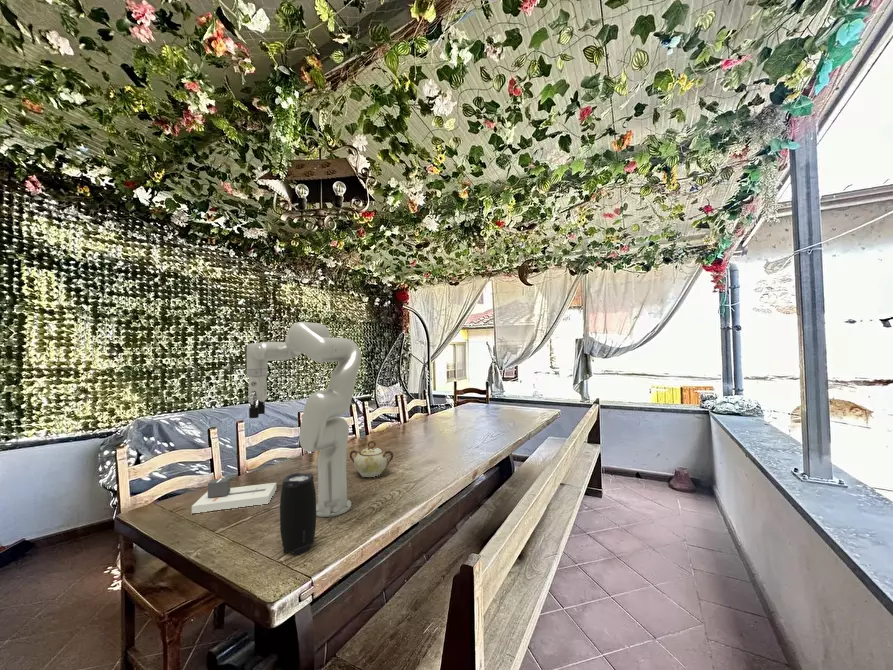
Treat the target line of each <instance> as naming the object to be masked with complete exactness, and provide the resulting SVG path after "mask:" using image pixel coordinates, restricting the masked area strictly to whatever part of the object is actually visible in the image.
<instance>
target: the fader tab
mask: <svg viewBox="0 0 893 670" xmlns="http://www.w3.org/2000/svg"><path fill="white" fill-rule="evenodd" d="M230 488H231V477H225V478H224V477H223V478H215V479H211V480H210V481H209V482H208V483H207V491H208V498H209V497H217V496H225V495H227V494H228V493H229V492H230Z"/></svg>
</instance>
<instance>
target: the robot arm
mask: <svg viewBox="0 0 893 670" xmlns="http://www.w3.org/2000/svg"><path fill="white" fill-rule="evenodd" d="M330 336H331V333H330V330H329V328H328V327H327V326H326V325H324V324H322V323H318V322H310V321H308V322H307V321H298V322H295V323H293V324H291V326H290V328H289V329H288V333H287V334H286V336H285V339H284V341H261V342H257V343H256V342H253V343H248V344H247V346H246V378H248V393H247V394H248V402H249V403H248V404H249V406H248V415H249V416H248V418H249V419H258V418H260V417H259V415H264V414H265V412H266V411H265V409H266V408H265V407H266V405H265V403H266V402H265V401H266V400H267V399H268V385H267V377H268V376H269V374H268V373H269V367H268V365H269V362H272V361H287V360H291V359H294V358H296V357H299V356H300V355H301V354H302V353H303V354H304V355H305V356H306V357H307V358H309V359H311V361H313V362H317V363H335V362H337V366H336V367H335V368H334V369H333V371H332V373H331V375H330V378H329V383H328V387H327V388H326V389H324V390H323V389H322V390H318V391H316V392H313V393H311V394H310V395H309V397H308V398H307V400H306V402H305V405H304V409H303V414H302V417H301V418H302V419H301V422H300V427H299V434H298V437H299V438H298V439H299V440H298V441H299V445H300V447H301V448H302V450H304V451H305V452H308V453H315V452H318V451H319V454H318V459H317V489H318V490H317V496H318V498H317V501H318V502H317V503H316V517H320V518H330V517H337V516H340V515H343V514H345V513H347V512H348V511H349V510H350V509H351V508H352V501H351V500H350V499H348V495H347V494H348V487H347V486H348V484H347V480H348V478H347V475H348V474H347V472H348V471H347V447H348V439H349V436H350V434H349V433H350V428H349V427H350V426H349V424H348V422H347V421H346V420H345V418H342V417H341V416H342V415H344V414H346V413H348V411H349V410H350V407H351V403H352V400H353V399H352V398H353V394H354V390H355V386H356V385H355V384H356V380H357V375H358V372H359V370H360V366H361V363H362V361H361V360H362V354H361V351H360V348H359V345H358V344H356V342H355V341H353V340H351V339H350V338H346V337H330Z"/></svg>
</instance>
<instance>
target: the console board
mask: <svg viewBox="0 0 893 670" xmlns="http://www.w3.org/2000/svg"><path fill="white" fill-rule="evenodd" d="M275 491H277V482H269V483H268V482H267V483H261V484H253V485H252V484H251V485H245V486H238V487H237V486H236V487H230V492H229V493H228V494H227V495H225V496H217V497H209V498H208V490H207V491H206V492H205V493H204V494H203V495H202V496H201V497H200V498H199V499H198V500H196V501H195V503H193V504H192V505H191V514H192V513H200V512H207V511H213V510H221V509H230V508H238V507H245V506H253V505H261V506H263V505H262V504H268V503H269V504H270V502H271V501H272V499H273V497H274V495H275V493H276V492H275ZM272 496H273V497H272ZM271 498H272V499H271ZM270 500H271V501H270ZM269 504H268V505H269Z"/></svg>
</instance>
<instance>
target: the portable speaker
mask: <svg viewBox="0 0 893 670" xmlns="http://www.w3.org/2000/svg"><path fill="white" fill-rule="evenodd" d="M280 492H281V493H280V501H279V522H280V523H279V524H280V525H279V526H280V527H279V529H280V530H279V531H280V538H281V544H282V548H283V553H287V552H290V553H293V555H296V556H298V555H302V554H304V553H306V552H308V551H309V550H310V549H311V546H312V545H313V543H314V542H315V534H316V525H317V515H316V505H317V493H316V487H315V482H314V474H313V473H312V472H309V473H301V472H294V473H290V474H288V475H286V476H285V478H284V479H283V481H282V487H281V491H280ZM301 553H302V554H301Z"/></svg>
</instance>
